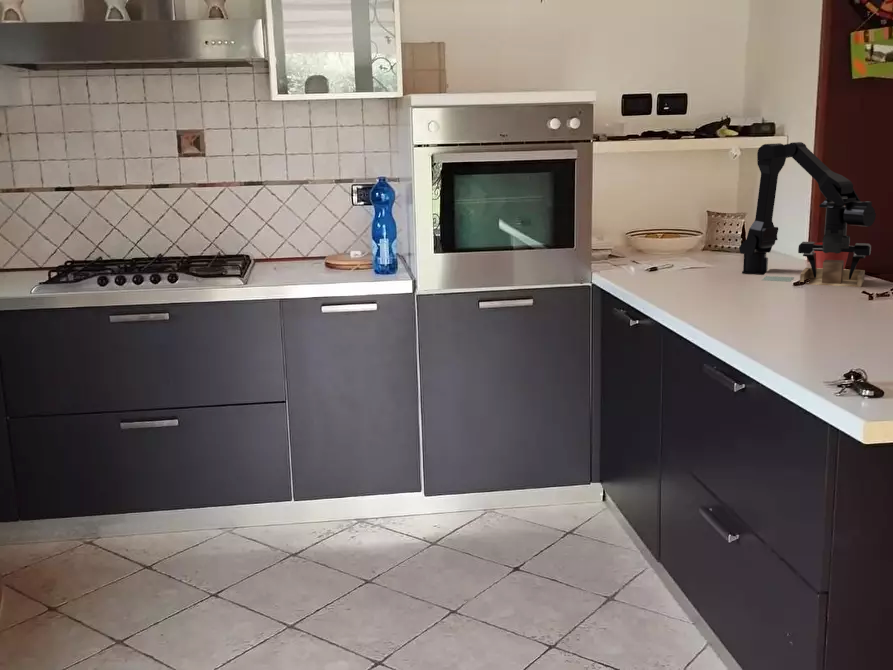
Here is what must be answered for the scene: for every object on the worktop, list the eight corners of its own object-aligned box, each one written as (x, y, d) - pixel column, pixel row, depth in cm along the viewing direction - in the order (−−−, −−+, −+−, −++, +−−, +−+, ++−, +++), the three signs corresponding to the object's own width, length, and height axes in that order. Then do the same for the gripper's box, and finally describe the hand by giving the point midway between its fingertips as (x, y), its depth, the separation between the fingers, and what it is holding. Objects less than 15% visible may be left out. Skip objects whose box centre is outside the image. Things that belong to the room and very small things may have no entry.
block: (821, 282, 259) (823, 262, 257) (823, 280, 263) (825, 259, 262) (840, 283, 256) (842, 262, 255) (842, 281, 261) (843, 260, 259)
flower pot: (840, 273, 278) (843, 241, 276) (853, 279, 267) (855, 246, 265) (805, 273, 279) (807, 242, 277) (815, 279, 268) (817, 246, 266)
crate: (799, 285, 259) (800, 273, 258) (805, 279, 269) (805, 267, 268) (860, 288, 251) (861, 276, 250) (864, 282, 261) (864, 270, 261)
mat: (761, 282, 266) (761, 280, 266) (766, 277, 273) (766, 276, 273) (790, 283, 262) (790, 281, 262) (794, 279, 269) (794, 277, 269)
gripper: (797, 226, 254) (793, 281, 257) (870, 227, 245) (865, 284, 248) (802, 222, 263) (799, 275, 267) (872, 223, 254) (868, 278, 258)
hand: (832, 278), depth 260 cm, fingers open, 9 cm apart
